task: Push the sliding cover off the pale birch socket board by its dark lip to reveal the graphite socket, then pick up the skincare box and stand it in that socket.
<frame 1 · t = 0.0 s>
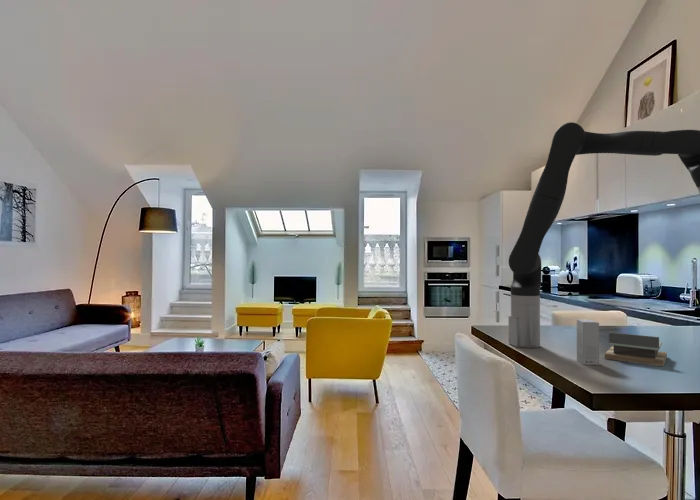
socket board: (635, 357, 126), on the table
skincare box: (587, 363, 120), on the table
cover: (635, 338, 126), point 6 cm above the table, slide at 0.0 cm
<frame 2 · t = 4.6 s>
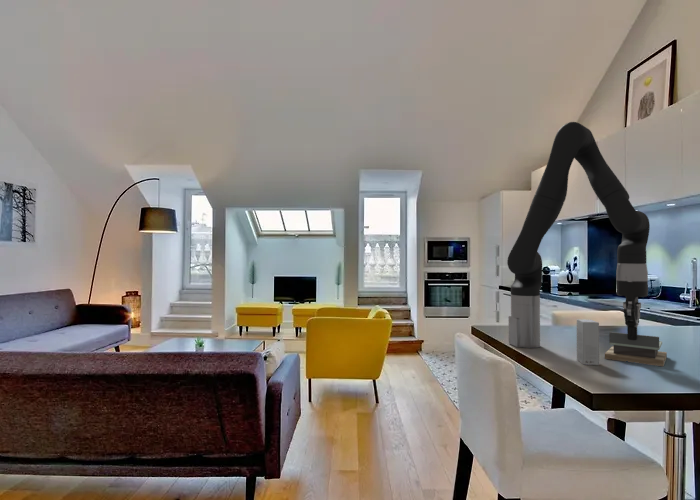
hand: (632, 339, 121), 6 cm above the table, tool pointing down, fingers closed
cover: (635, 337, 126), point 6 cm above the table, slide at 0.5 cm, touching gripper
everything else where it was.
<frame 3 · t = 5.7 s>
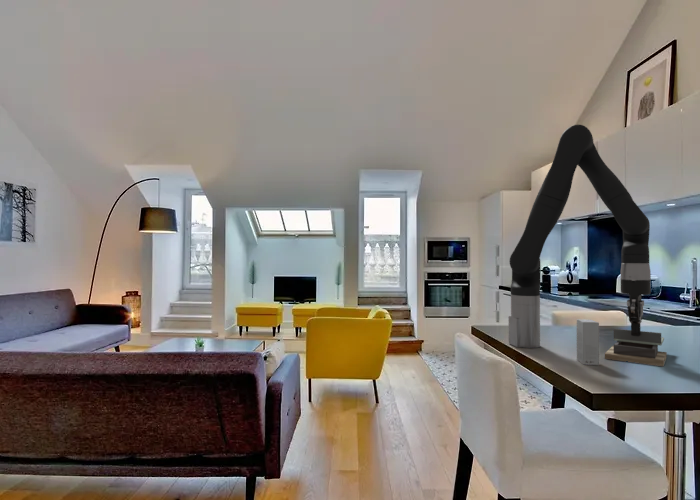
hand: (635, 335, 127), 6 cm above the table, tool pointing down, fingers closed
cover: (638, 334, 132), point 6 cm above the table, slide at 8.4 cm, touching gripper
everything else where it was.
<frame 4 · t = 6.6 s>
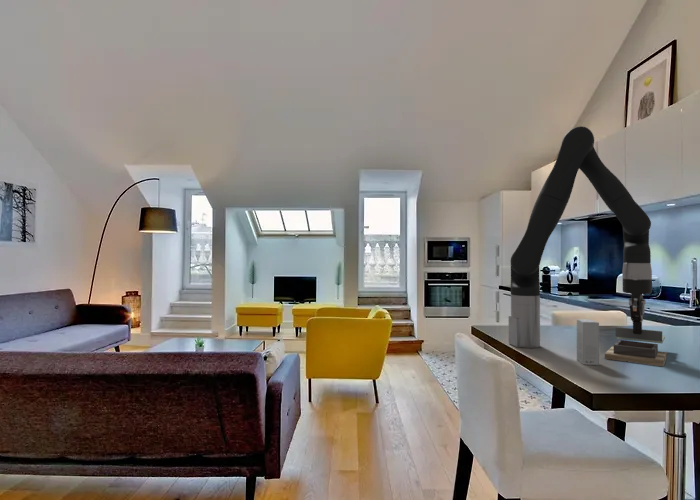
hand: (637, 333, 130), 7 cm above the table, tool pointing down, fingers closed
cover: (640, 332, 135), point 6 cm above the table, slide at 12.3 cm, touching gripper
everything else where it was.
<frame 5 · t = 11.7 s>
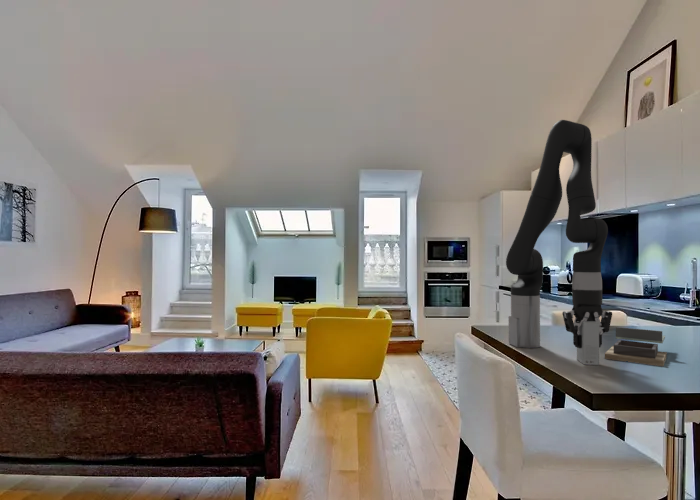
hand: (587, 347, 120), 4 cm above the table, tool pointing down, fingers closed on skincare box, 5 cm apart
skincare box: (587, 363, 120), on the table, touching gripper
cover: (640, 332, 135), point 6 cm above the table, slide at 12.4 cm
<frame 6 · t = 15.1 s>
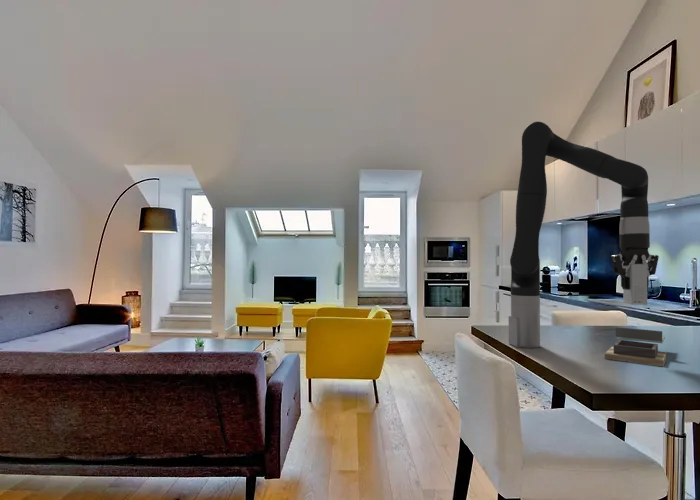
hand: (634, 289, 126), 21 cm above the table, tool pointing down, fingers closed on skincare box, 5 cm apart
skincare box: (635, 304, 126), point 16 cm above the table, touching gripper
everything else where it was.
when the fingers open (7 cm above the table, at t = 18.5 s): skincare box stays where it is, resting on socket board.
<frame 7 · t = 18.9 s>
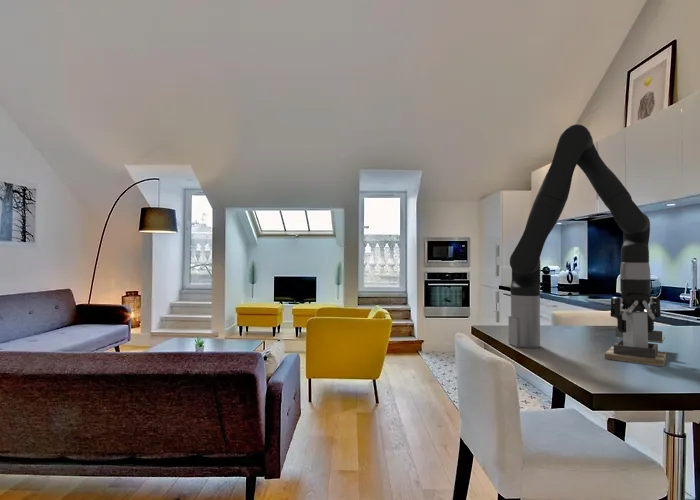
hand: (635, 331, 126), 8 cm above the table, tool pointing down, fingers open, 8 cm apart
skincare box: (635, 352, 126), point 2 cm above the table, touching socket board
everything else where it was.
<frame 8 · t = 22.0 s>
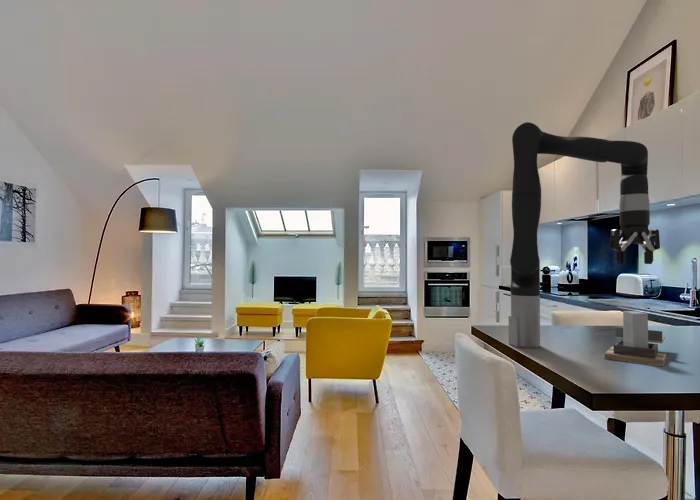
hand: (634, 264, 126), 28 cm above the table, tool pointing down, fingers open, 8 cm apart
nothing on the table moved.
at the end: cover slide at 12.4 cm; skincare box 0.1 cm off-centre on the socket board, point 1.5 cm above the socket board's base; skincare box tilted 0° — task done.
